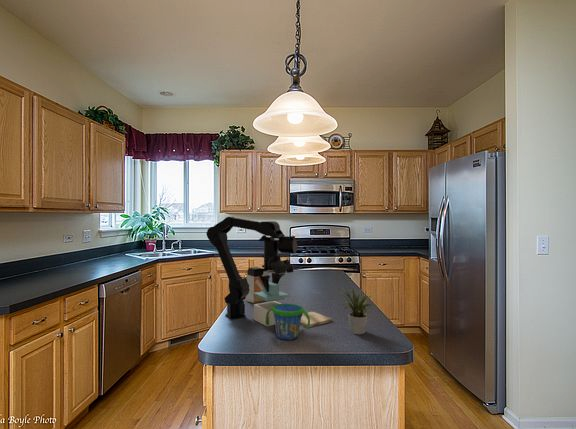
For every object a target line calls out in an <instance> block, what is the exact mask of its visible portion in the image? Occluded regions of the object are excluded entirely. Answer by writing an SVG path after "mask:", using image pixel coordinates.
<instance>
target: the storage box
mask: <svg viewBox="0 0 576 429" xmlns="http://www.w3.org/2000/svg"><path fill="white" fill-rule="evenodd" d="M278 304H282V303H281V302H278V301H272V302H266V301H264V302H259V303H253V320H254V321H256V322H258V323H260V324H262V325H263V326H265V327H269V326H273V325H275V319H274V313H273V311H272V310H271V311H270V312H269V315H268V317H269V324H268V325H266V314H267V312H268V310H269V309H271V308H272V307H274V306H275V305H278Z"/></svg>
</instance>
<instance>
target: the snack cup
mask: <svg viewBox="0 0 576 429" xmlns="http://www.w3.org/2000/svg"><path fill="white" fill-rule="evenodd" d="M271 310H272V311H273V313H274V319H275V324H274V325H275V327H274V328H275V334H276V337H278V338H279V339H280V340H291V341H292V340H294V339H296V338H298V337H299V331H300V326H301V325H300V321H301V317H302V314H305V316H306V317H307V319H308V327H306V330H309V328H310V327H309V326H310V318H309V315H308V313H309V312H308V311H306V310H305V309H304V308H303V307H302V306H301V305H299V304H296V303H295V304H294V303H281V304H278V305H275V306H274V307H272V308H271V309H269V310H268V312H267V314H266V325H268V324H269V317H268V315H269V312H270V311H271Z"/></svg>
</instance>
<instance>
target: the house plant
mask: <svg viewBox="0 0 576 429" xmlns="http://www.w3.org/2000/svg"><path fill="white" fill-rule="evenodd" d="M341 289H342V290H344V291H345V292H346V293H345V292H343V294H344V295H343V294H342V296H343V297H345V298H346V297H348V298H346V299H347V301H346V302H345V304H346V305H345V307H344V309H343V311H345V310H347V309H348V310H350V311H349V313H348V314H347V317H348V322H349V329H350V330H349V331H350V333H351V334H355V335H363V334H366V330H367V325H368V317H369V315H368V314H367V310H369V309H370V308H372V304H370V303H369V304H366V303H367V301H368V300H369V299H370V298H371V297H372V296H373V295H375V294H376V292H374V293H372V294H370V295H368V296H366V293H367V292H366V290H365V291H364V294H363V295H362V298H361V300H360V294H361V293H362V291H360V290H361V289H359V290H358V293H357V295H356V292H355V291H354V289H353V288H350V290H351V293H352V297H351V295H350V293H349V292H348V290H346V289H345V288H341ZM345 295H346V296H345ZM350 301H351V302H350ZM340 305H341V306H342V305H343V306H344V304H342V303H341V304H340ZM368 306H369V307H368ZM350 308H351V309H350Z"/></svg>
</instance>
